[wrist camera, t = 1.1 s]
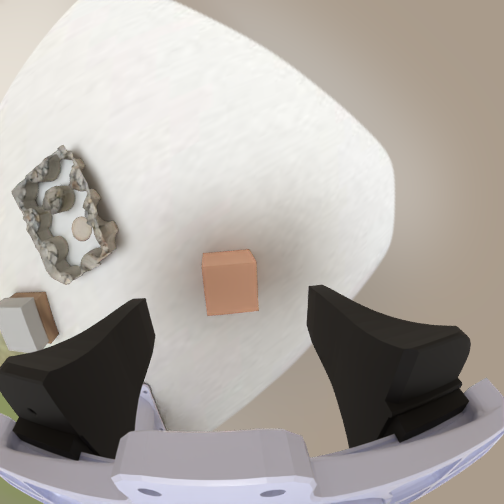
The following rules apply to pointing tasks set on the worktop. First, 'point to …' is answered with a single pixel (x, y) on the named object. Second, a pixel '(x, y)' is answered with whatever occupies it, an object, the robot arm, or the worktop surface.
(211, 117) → the worktop surface
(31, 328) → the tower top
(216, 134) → the worktop surface
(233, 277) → the terracotta cube
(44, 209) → the egg carton
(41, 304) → the tower base
